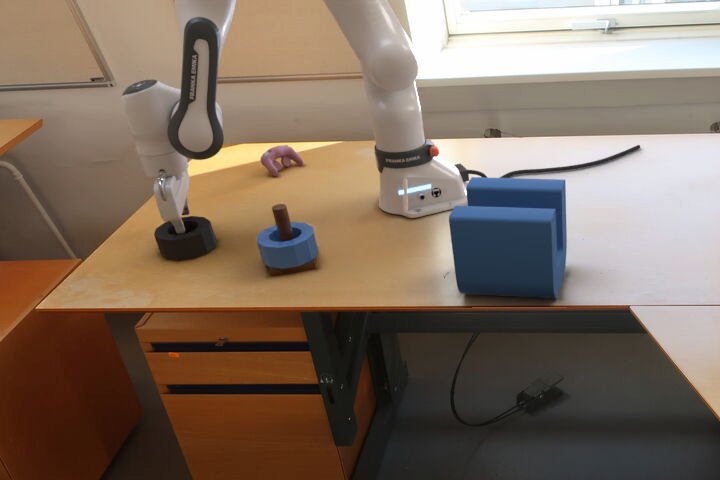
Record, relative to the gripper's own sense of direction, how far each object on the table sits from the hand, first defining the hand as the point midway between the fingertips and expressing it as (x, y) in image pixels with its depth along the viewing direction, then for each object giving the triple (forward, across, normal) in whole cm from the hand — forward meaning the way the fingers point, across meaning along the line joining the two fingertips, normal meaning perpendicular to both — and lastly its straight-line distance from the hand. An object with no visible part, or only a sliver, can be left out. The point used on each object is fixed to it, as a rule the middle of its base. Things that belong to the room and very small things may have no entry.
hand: (183, 222), depth 170 cm
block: (+3, -42, -64) cm, 77 cm away
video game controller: (+4, +35, -20) cm, 40 cm away
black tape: (+4, -4, 0) cm, 6 cm away
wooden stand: (+4, -19, -22) cm, 30 cm away
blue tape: (+2, -18, -22) cm, 29 cm away
